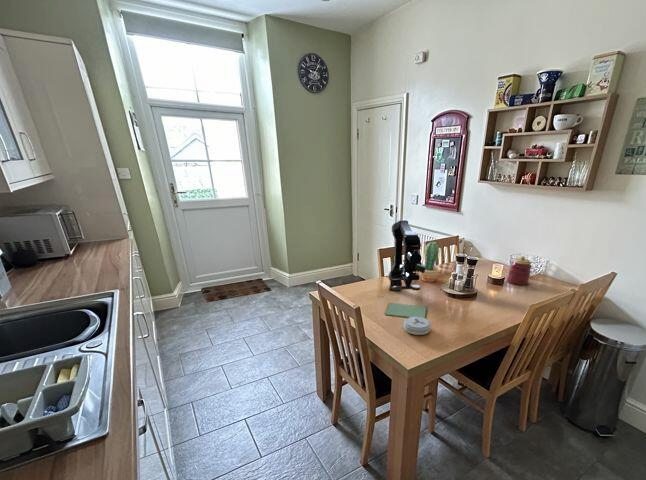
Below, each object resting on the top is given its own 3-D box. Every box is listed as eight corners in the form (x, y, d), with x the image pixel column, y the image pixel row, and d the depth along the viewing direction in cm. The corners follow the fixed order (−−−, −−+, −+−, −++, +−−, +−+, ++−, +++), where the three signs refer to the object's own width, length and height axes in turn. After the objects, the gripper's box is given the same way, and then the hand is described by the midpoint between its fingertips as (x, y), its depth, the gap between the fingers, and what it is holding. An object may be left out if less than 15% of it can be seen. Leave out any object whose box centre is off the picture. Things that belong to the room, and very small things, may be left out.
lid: (434, 335, 150) (435, 325, 148) (408, 337, 148) (409, 327, 145) (424, 322, 161) (425, 313, 159) (399, 324, 159) (400, 315, 157)
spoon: (392, 291, 170) (392, 288, 169) (390, 288, 174) (390, 285, 173) (421, 290, 172) (421, 287, 171) (418, 287, 176) (419, 284, 175)
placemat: (385, 314, 168) (385, 314, 168) (389, 303, 181) (389, 303, 181) (424, 319, 165) (424, 318, 164) (426, 307, 177) (426, 307, 177)
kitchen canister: (531, 285, 211) (537, 259, 204) (511, 285, 212) (516, 258, 204) (523, 278, 223) (528, 253, 216) (504, 278, 223) (509, 253, 216)
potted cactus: (444, 279, 219) (449, 242, 209) (432, 285, 209) (436, 246, 198) (424, 273, 228) (428, 238, 218) (412, 279, 218) (415, 242, 208)
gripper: (430, 263, 159) (427, 293, 165) (419, 253, 176) (417, 281, 182) (408, 264, 158) (406, 294, 164) (399, 254, 175) (398, 281, 181)
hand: (407, 287), depth 173 cm, fingers closed on spoon, 2 cm apart
